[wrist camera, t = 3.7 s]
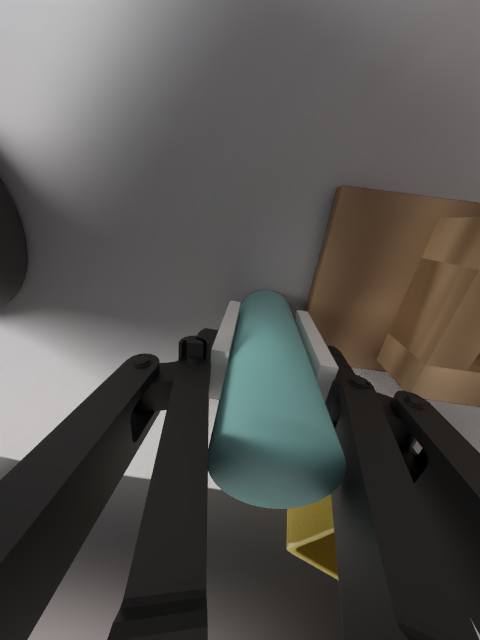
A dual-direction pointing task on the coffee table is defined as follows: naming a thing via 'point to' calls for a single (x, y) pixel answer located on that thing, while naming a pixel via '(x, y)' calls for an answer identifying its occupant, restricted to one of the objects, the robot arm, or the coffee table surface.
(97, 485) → the robot arm
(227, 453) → the peg
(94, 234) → the coffee table surface
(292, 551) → the flower pot
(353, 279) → the socket board
